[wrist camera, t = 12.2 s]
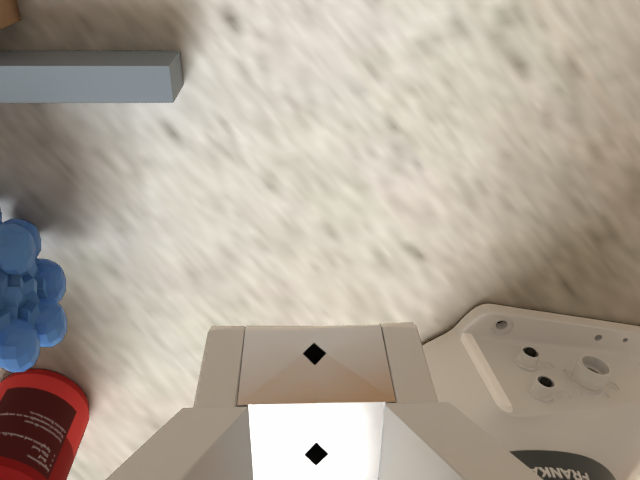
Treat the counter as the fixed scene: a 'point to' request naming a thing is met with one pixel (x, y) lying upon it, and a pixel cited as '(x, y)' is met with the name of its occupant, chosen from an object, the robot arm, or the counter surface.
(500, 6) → the counter surface
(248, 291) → the counter surface
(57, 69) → the bay
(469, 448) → the robot arm
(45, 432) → the canned food
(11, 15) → the t block
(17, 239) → the grapes
